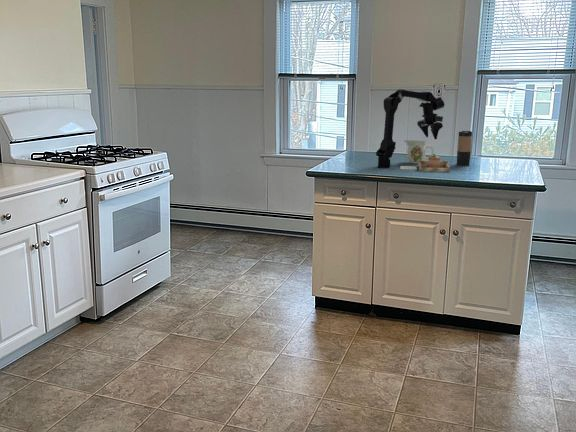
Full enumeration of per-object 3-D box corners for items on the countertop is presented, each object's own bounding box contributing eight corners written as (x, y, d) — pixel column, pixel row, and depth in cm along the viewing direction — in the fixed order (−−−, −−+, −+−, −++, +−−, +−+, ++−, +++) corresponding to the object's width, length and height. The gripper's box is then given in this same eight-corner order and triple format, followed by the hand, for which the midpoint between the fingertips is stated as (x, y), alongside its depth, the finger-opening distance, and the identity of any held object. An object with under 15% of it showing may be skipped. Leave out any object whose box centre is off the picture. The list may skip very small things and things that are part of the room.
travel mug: (470, 166, 330) (473, 132, 325) (456, 166, 332) (459, 132, 326) (468, 164, 337) (471, 131, 332) (455, 164, 339) (458, 130, 334)
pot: (427, 169, 318) (428, 154, 315) (427, 167, 324) (428, 152, 322) (440, 170, 316) (441, 154, 314) (439, 168, 323) (440, 152, 321)
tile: (400, 170, 319) (400, 168, 319) (400, 167, 328) (400, 165, 328) (416, 170, 318) (416, 169, 318) (416, 168, 326) (416, 166, 326)
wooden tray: (419, 172, 314) (419, 165, 313) (418, 167, 330) (418, 160, 329) (449, 173, 311) (450, 165, 310) (447, 167, 327) (447, 161, 326)
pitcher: (433, 165, 335) (435, 142, 332) (402, 164, 338) (403, 141, 334) (432, 162, 346) (433, 139, 342) (402, 161, 348) (403, 139, 345)
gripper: (449, 110, 328) (452, 136, 333) (431, 107, 345) (434, 132, 350) (432, 115, 325) (435, 141, 331) (415, 112, 342) (418, 137, 347)
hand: (431, 138), depth 340 cm, fingers open, 9 cm apart
